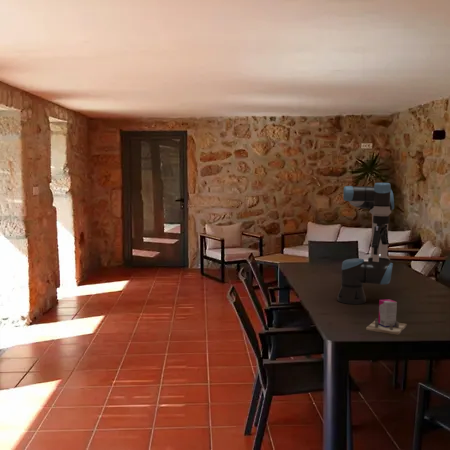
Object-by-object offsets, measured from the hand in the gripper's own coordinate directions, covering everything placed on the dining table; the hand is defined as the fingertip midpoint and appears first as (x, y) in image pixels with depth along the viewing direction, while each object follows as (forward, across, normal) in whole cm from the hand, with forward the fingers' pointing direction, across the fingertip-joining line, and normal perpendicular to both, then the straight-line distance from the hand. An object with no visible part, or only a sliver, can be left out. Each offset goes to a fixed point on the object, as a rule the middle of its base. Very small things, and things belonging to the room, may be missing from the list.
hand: (379, 259), depth 257 cm
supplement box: (+28, +14, +8) cm, 32 cm away
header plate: (+29, +14, +8) cm, 33 cm away
